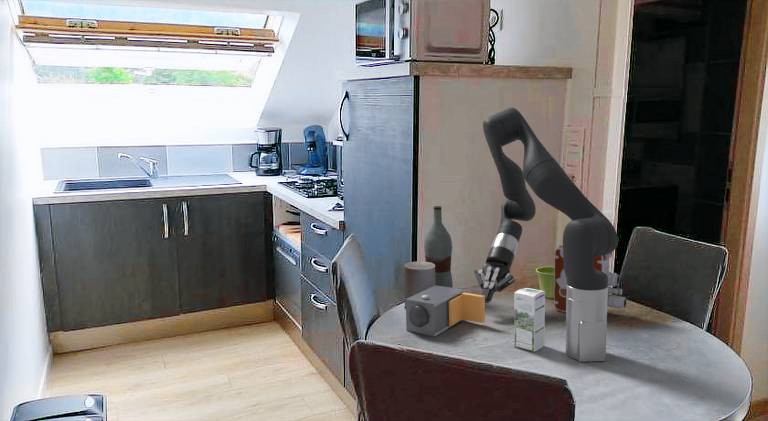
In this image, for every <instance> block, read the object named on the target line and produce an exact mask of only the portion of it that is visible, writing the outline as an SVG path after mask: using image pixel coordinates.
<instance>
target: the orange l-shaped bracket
mask: <svg viewBox="0 0 768 421" xmlns="http://www.w3.org/2000/svg"><path fill="white" fill-rule="evenodd" d="M485 304H486V303H485V296H483V295H482V294H475V293H470V292H469V293H468V292H462V294H461V295H459V296H458V297H456V298H454V299H452V300H450V301H449V326H451V327H453V326H454V324H455V323H456V324H457V322H458V321H459V322H461V321H463V320H464V321H469V322H473V323H479V324H484V323H485V321H486V307H485V306H486V305H485ZM462 319H463V320H462ZM460 320H461V321H460ZM459 322H458V323H459ZM456 324H455V325H456ZM452 325H453V326H452Z"/></svg>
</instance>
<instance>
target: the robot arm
mask: <svg viewBox="0 0 768 421" xmlns="http://www.w3.org/2000/svg"><path fill="white" fill-rule="evenodd" d="M482 131H483V135H484V137H485V140H486V142H487V146H488V148H489V151H490V154H491V157H492V159H493V162H494V164H495V166H496V169H497V172H498V176H499V180H500V183H501V188H502V193H503V196H504V197H505V199H503V201H502V203H501V206H500V222H499V226H498V230H497V232H496V235H495V238H493V240H492V244H491V246H490V247H489V248H490V249H489V252H488V254H487V257H486V259H485V264H484V265H483V266H482V268H481V269H479V270H478V269H475V270H474V271H473V273H474V276H475V278H476V281H477V283H478V285H479V287H480V288H481V290H482V292H481V295H483V296H485V304H489V303H490V302H492V299H493V297H494V294H495V292H498V293H500V292H502V291H504V290H505V289H506V288H507V287H509V286H511V285H512V284H513V283H515V281H516V279H515V277H514V275H513V274H511V268H512V265H513V261H514V260H515V256H516V254H517V251H518V246H519V245H518V244H519V242H520V239H521V238H522V233H523V226H522V225H521V224H520V223H519V222H520V221H521V222H530V221H531V220H533V219H534V217H535V216H536V212H537V211H536V210H537V209H536V203H535V201H534V199H533V198H532V196H531V194H530V192H529V190H528V189H527V186H529V187H530V189H531V190H532V192H534V194H535V196H537V198H539V199H540V201H542V202H544V203H546V204H548V205H549V206H551V207H552V208H554V209H556V210H557V211H559V212H561V213H563V214H564V215H565V216H567V217H568V219H570V221H569V222H567V224H566V225H565V227H564V230H563V235H562V245H563V261H564V271H565V275H566V278H567V296H566V312H565V354H566V356H568V357H570V358H572V359H575V360H577V361H579V362H582V363H584V362H605V361H606V358H607V357H606V356H607V330H608V329H607V328H608V324H607V323H608V322H607V321H608V308H607V298H608V276H607V275H606V274H605V273H604V272H602V271H598V270H595V269H594V260H593V257H597V256H603V255H606V254H609V253H611V252H612V253H613V252H614V251H615V250H616V248H617V247H618V240H619V238H618V233H617V231H616V229H615V227H614V225H613V223H612V222H611V221H610V220H609V218H608V217H606V216H605V215H604V214H603V212H601V211H600V210H599V208H597V207H596V206H595V205H594V204H593V203H592V202H591V201H590V200H589V199H588V197H586V196H585V194H584V193H583V192H582V191H581V190H580V188H578V186H577V185H576V184H575V183H574V181H573V180H572V179H571V178H570V177H569V175H568V174H567V172H566V171H565V170H564V168H562V166H561V165H560V164H559V162H558V161H557V160H556V158H554V157H553V155H552V154H550V152H549V151H548V150H547V148H546V147H545V146H544V145H543V144H542V142H541V140H539V138H538V137H537V135H536V134H535V132H534V131H533V129H532V128H531V126H530V125H529V123H528V121H527V120H526V118H525V116H524V115H523V114H522V113H521V111H519V110H518V109H517V108H515V107H509V108H506V109H503V110H500V111H498V112H496V113H494V114H491V115H490V116H487V117H486V118H485V119H484V120H483V121H482ZM518 140H519V141H520V142H521V144H523V151H524V152H523V153H524V154H523V163H522V168H521V167H520V165H519V164H518V163H517V162H515V161H514V160H513V159H511V158H509V157H508V156H507V155H506V153H505V152H504V151H503V147H504V146H507V145H509V144H511V143H514V142H516V141H518ZM526 184H527V186H526ZM518 221H519V222H518ZM483 277H484V281H483Z"/></svg>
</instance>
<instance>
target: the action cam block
mask: <svg viewBox="0 0 768 421" xmlns="http://www.w3.org/2000/svg"><path fill="white" fill-rule="evenodd" d="M462 293H464V290H463V289H461V288H456V287H452V288H450V287H443V286H437V285H435V286H433V287H431V288H428V289H426V290H424V291H422V292H420V293H418V294H416V295H413V296H411V297H409V298H407V299H406V309H405V314H406V315H405V321H406V322H405V324H406V330H407V332H411V333H416V334H420V335H425V336H430V337H433V338H434V337H437V336H438V335H440V334H441V333H443V332H445V331H446V330H448V329H450V328H452V327H453V326H454V325H456V324H457V323H459V322H461V321H463V319H462V320H460V321H458V322H457V323H455V324H454V325H452V326H449V301H450V300H452V299H454V298H456V297H458V296H459V295H461V294H462Z"/></svg>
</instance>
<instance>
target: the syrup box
mask: <svg viewBox="0 0 768 421" xmlns="http://www.w3.org/2000/svg"><path fill="white" fill-rule="evenodd" d="M513 297H514V300H513V303H514V316H513V317H514V322H513V323H514V324H513V325H514V328H513V329H514V340H513V341H514V347H515V348H518V349H522V350H526V351H528V352H533V353H535V352H537V351H539V350H540V349H542V348H543V347H545V345H546V344H545V342H546V341H545V340H546V339H545V337H546V336H545V333H546V332H545V326H546V325H545V324H546V323H545V320H546V319H545V313H546V311H545V310H546V309H545V308H546V297H545V291H541V290H540V289H535V288H530V287H522V288H520V289H518V290H516V291H515V292H514V295H513Z"/></svg>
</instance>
